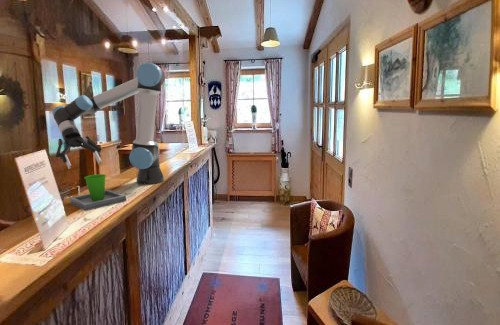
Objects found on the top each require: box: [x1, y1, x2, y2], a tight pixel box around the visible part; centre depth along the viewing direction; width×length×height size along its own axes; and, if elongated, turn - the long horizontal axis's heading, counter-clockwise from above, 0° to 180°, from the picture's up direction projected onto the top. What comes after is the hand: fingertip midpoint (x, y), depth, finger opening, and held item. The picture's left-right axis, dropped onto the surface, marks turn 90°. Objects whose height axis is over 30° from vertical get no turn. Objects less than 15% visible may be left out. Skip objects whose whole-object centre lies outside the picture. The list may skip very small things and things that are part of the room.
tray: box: [69, 189, 127, 212], centre depth 147 cm, size 18×18×2 cm
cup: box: [83, 173, 107, 201], centre depth 147 cm, size 9×9×11 cm
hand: (85, 164), depth 152 cm, fingers open, 13 cm apart
